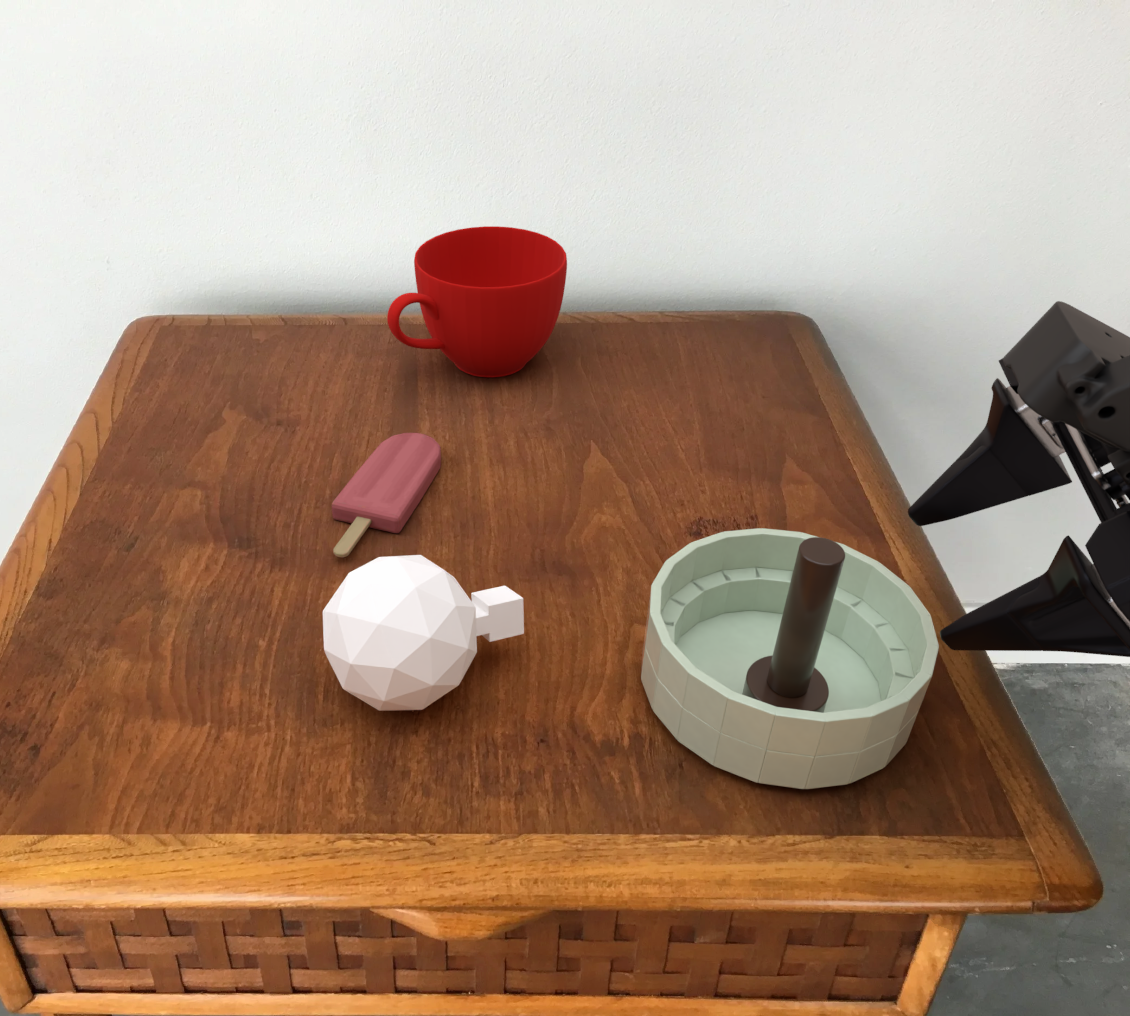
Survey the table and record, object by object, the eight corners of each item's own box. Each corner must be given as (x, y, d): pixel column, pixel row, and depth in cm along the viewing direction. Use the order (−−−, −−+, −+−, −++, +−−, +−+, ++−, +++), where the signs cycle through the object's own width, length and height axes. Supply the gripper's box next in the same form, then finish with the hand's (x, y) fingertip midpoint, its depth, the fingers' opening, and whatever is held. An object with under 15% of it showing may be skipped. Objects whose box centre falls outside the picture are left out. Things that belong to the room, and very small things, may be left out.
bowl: (888, 615, 64) (912, 542, 61) (930, 815, 52) (964, 739, 49) (645, 588, 67) (654, 516, 63) (634, 773, 55) (644, 698, 51)
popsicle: (302, 538, 69) (389, 425, 80) (304, 555, 70) (390, 442, 81) (373, 555, 68) (452, 438, 79) (374, 572, 69) (453, 454, 80)
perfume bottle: (356, 758, 54) (552, 704, 58) (344, 599, 51) (550, 556, 56) (306, 690, 61) (483, 647, 66) (293, 548, 58) (479, 513, 63)
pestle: (789, 676, 60) (831, 515, 52) (836, 730, 56) (888, 566, 49) (724, 696, 58) (758, 534, 51) (768, 753, 55) (812, 589, 48)
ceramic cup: (354, 367, 91) (344, 262, 85) (501, 314, 99) (502, 214, 93) (438, 429, 83) (434, 317, 77) (592, 365, 90) (599, 259, 84)
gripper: (1113, 176, 46) (812, 371, 54) (1303, 382, 31) (852, 604, 40) (1228, 344, 49) (929, 502, 58) (1448, 600, 35) (1005, 761, 43)
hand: (927, 575), depth 50 cm, fingers open, 9 cm apart
